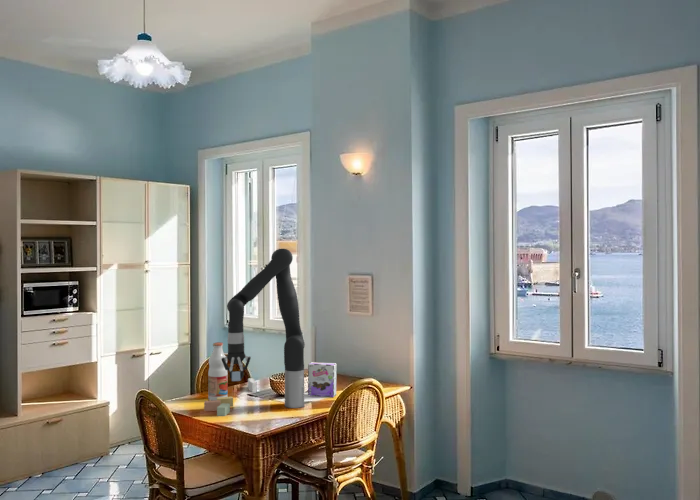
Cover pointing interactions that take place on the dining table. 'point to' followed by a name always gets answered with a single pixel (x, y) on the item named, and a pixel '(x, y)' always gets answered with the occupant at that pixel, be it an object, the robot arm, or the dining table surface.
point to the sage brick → (223, 409)
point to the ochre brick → (226, 400)
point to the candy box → (322, 379)
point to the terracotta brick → (211, 405)
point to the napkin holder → (252, 385)
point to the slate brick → (236, 376)
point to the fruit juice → (217, 374)
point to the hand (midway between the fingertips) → (236, 378)
